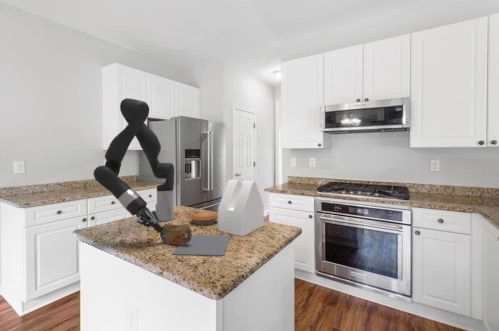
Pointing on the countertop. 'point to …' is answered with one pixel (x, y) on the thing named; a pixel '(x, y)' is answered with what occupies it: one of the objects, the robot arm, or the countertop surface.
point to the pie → (204, 218)
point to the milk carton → (240, 208)
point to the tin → (176, 234)
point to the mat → (204, 246)
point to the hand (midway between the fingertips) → (161, 230)
